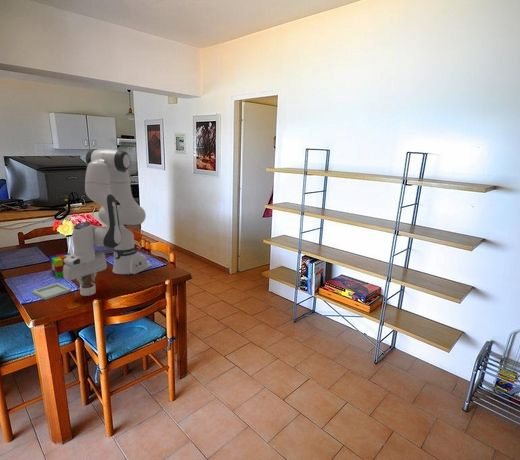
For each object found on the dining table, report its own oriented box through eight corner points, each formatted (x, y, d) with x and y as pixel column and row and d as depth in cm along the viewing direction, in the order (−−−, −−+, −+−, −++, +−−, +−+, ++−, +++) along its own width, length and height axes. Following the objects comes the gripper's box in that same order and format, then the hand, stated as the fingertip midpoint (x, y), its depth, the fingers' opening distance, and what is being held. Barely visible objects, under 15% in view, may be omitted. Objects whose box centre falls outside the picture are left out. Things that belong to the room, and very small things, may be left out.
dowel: (89, 290, 166) (88, 271, 164) (94, 292, 164) (92, 273, 162) (81, 292, 163) (80, 273, 160) (86, 295, 161) (84, 275, 158)
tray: (58, 286, 170) (57, 282, 170) (71, 292, 164) (70, 288, 164) (32, 294, 160) (32, 290, 160) (45, 301, 154) (45, 297, 154)
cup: (90, 289, 168) (90, 281, 167) (98, 293, 165) (98, 285, 164) (77, 294, 163) (76, 286, 161) (85, 298, 159) (84, 289, 158)
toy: (76, 273, 188) (75, 257, 185) (57, 278, 180) (55, 261, 178) (69, 269, 194) (68, 252, 191) (51, 273, 186) (49, 256, 184)
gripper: (101, 249, 169) (102, 275, 172) (59, 260, 152) (62, 288, 155) (108, 252, 166) (110, 278, 169) (67, 263, 149) (70, 291, 152)
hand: (87, 283), depth 162 cm, fingers closed on dowel, 4 cm apart
